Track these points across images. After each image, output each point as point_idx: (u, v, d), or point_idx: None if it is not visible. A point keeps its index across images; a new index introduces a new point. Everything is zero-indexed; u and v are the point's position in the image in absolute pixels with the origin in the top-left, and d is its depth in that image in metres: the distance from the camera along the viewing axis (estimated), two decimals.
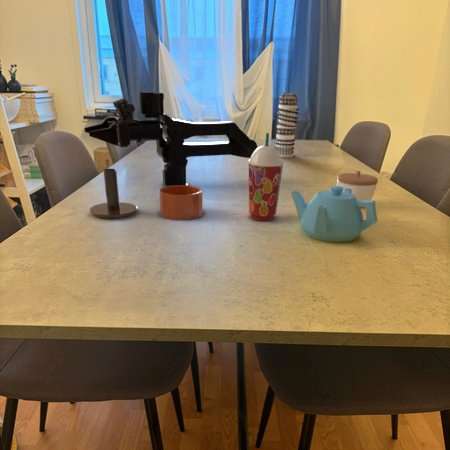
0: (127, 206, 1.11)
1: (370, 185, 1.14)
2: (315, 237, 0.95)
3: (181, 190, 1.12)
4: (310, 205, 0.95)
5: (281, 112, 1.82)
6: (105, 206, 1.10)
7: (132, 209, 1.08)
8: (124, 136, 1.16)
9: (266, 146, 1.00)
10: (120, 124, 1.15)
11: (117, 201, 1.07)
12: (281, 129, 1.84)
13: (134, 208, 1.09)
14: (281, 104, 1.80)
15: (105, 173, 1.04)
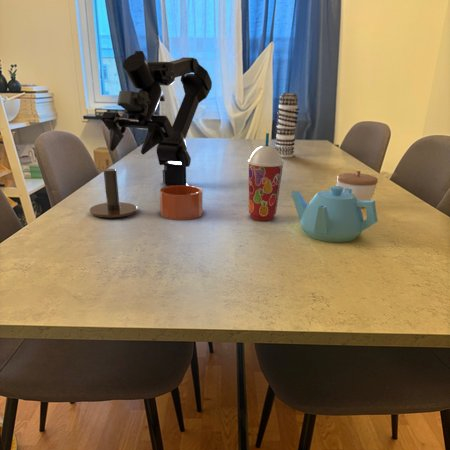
0: (127, 206, 1.11)
1: (370, 185, 1.14)
2: (315, 237, 0.95)
3: (181, 190, 1.12)
4: (310, 205, 0.95)
5: (281, 112, 1.82)
6: (105, 206, 1.10)
7: (132, 209, 1.08)
8: (169, 127, 1.09)
9: (266, 146, 1.00)
10: (163, 121, 1.06)
11: (117, 201, 1.07)
12: (281, 129, 1.84)
13: (134, 208, 1.09)
14: (281, 104, 1.80)
15: (105, 173, 1.04)
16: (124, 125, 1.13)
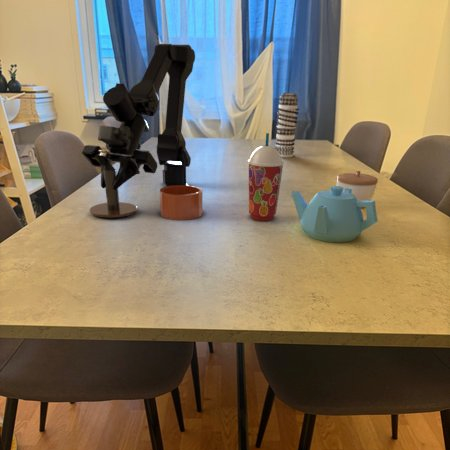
0: (127, 206, 1.11)
1: (370, 185, 1.14)
2: (315, 237, 0.95)
3: (181, 190, 1.12)
4: (310, 205, 0.95)
5: (281, 112, 1.82)
6: (105, 206, 1.10)
7: (132, 209, 1.08)
8: (153, 162, 1.05)
9: (266, 146, 1.00)
10: (146, 157, 1.02)
11: (117, 201, 1.07)
12: (281, 129, 1.84)
13: (134, 208, 1.09)
14: (281, 104, 1.80)
15: (105, 173, 1.04)
16: None
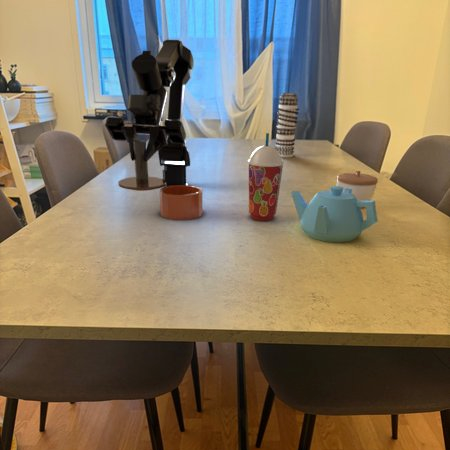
0: (155, 179, 1.08)
1: (370, 185, 1.14)
2: (315, 237, 0.95)
3: (181, 190, 1.12)
4: (310, 205, 0.95)
5: (281, 112, 1.82)
6: (132, 180, 1.06)
7: (162, 182, 1.06)
8: (183, 132, 1.03)
9: (266, 146, 1.00)
10: (179, 126, 1.00)
11: (147, 174, 1.04)
12: (281, 129, 1.84)
13: (163, 181, 1.07)
14: (281, 104, 1.80)
15: (136, 144, 1.00)
16: None
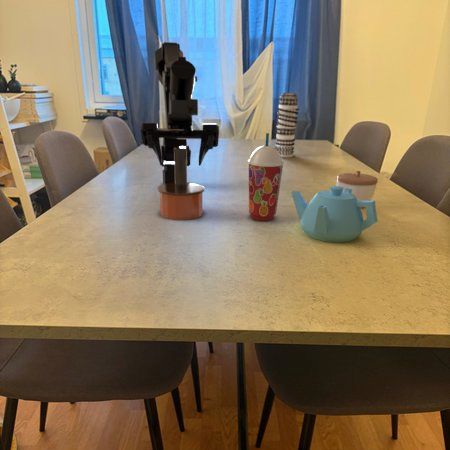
0: (190, 184, 1.10)
1: (370, 185, 1.14)
2: (315, 237, 0.95)
3: None
4: (310, 205, 0.95)
5: (281, 112, 1.82)
6: (169, 187, 1.07)
7: (200, 186, 1.09)
8: None
9: (266, 146, 1.00)
10: (218, 130, 1.04)
11: None
12: (281, 129, 1.84)
13: (200, 185, 1.09)
14: (281, 104, 1.80)
15: (178, 151, 1.02)
16: (165, 136, 1.05)
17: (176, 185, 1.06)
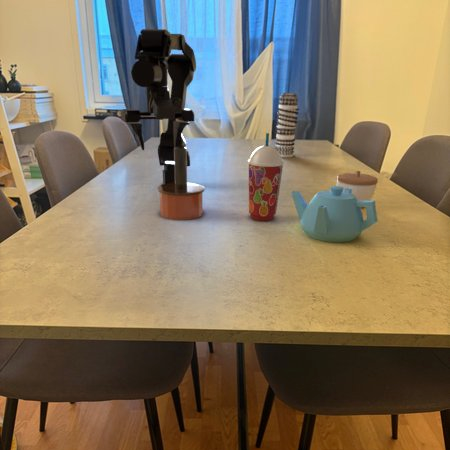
0: (190, 184, 1.10)
1: (370, 185, 1.14)
2: (315, 237, 0.95)
3: None
4: (310, 205, 0.95)
5: (281, 112, 1.82)
6: (169, 187, 1.07)
7: (200, 186, 1.09)
8: None
9: (266, 146, 1.00)
10: (193, 119, 1.16)
11: None
12: (281, 129, 1.84)
13: (200, 185, 1.09)
14: (281, 104, 1.80)
15: (178, 151, 1.02)
16: (144, 118, 1.14)
17: (176, 185, 1.06)
